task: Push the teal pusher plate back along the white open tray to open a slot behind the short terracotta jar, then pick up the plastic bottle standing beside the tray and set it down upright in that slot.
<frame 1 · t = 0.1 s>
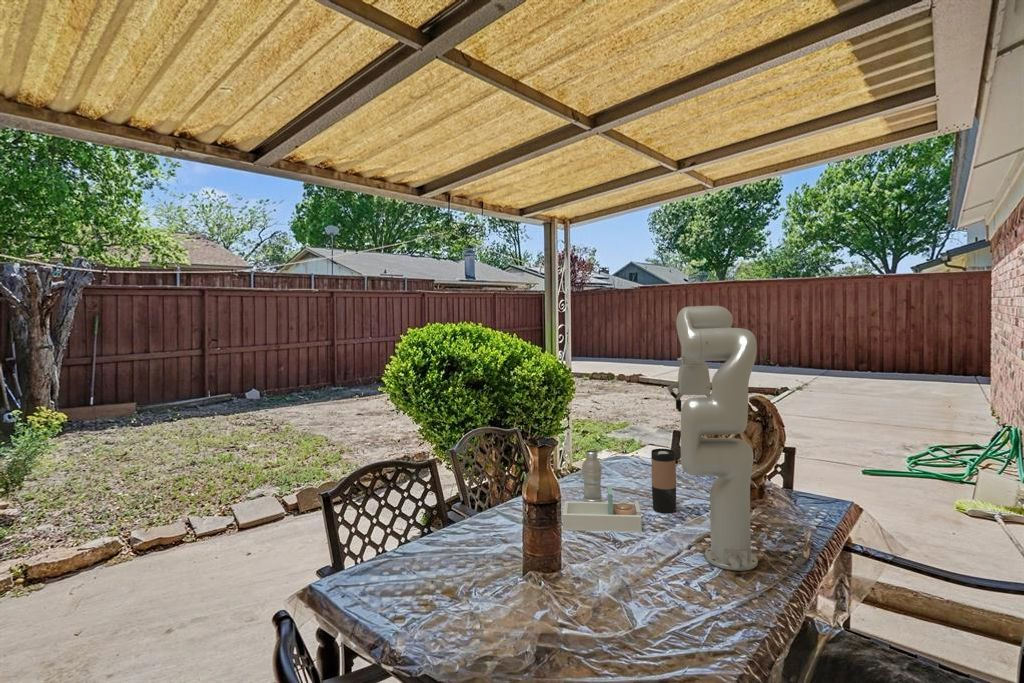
hand: (694, 411, 178), 31 cm above the table, tool pointing down, fingers open, 9 cm apart
pusher: (610, 506, 160), point 6 cm above the table, slide at 0.0 cm
terracotta jar: (624, 523, 160), point 1 cm above the table, touching white open tray
plastic bottle: (593, 512, 173), on the table
travel mug: (664, 512, 170), on the table
white open tray: (601, 525, 161), on the table
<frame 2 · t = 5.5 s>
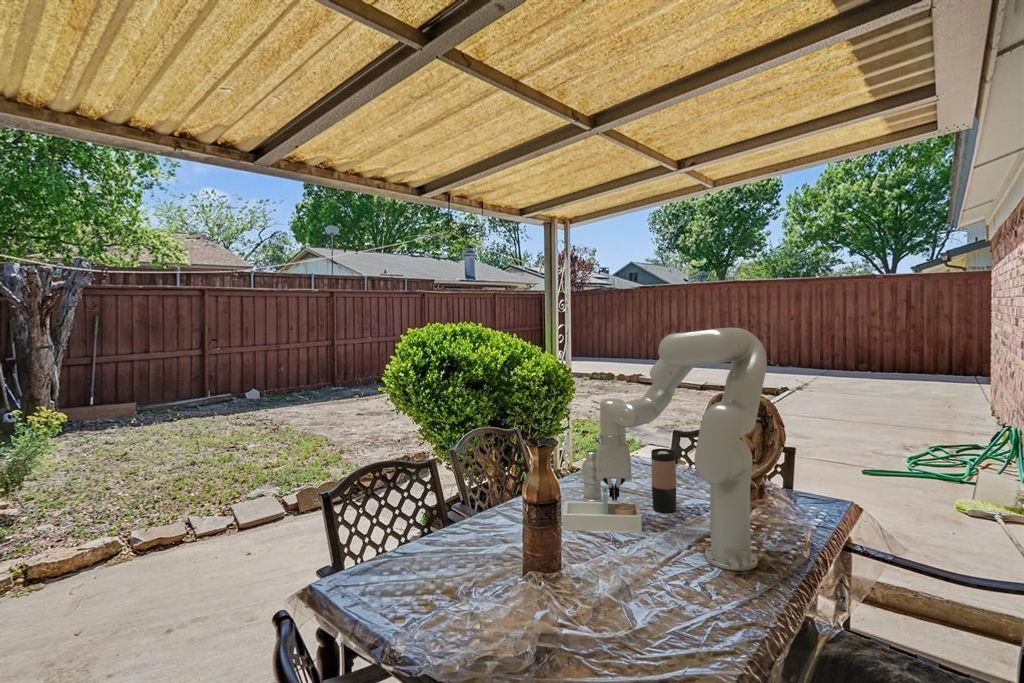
hand: (614, 499, 160), 8 cm above the table, tool pointing down, fingers closed
pusher: (605, 505, 160), point 6 cm above the table, slide at 1.5 cm, touching gripper
everything else where it was.
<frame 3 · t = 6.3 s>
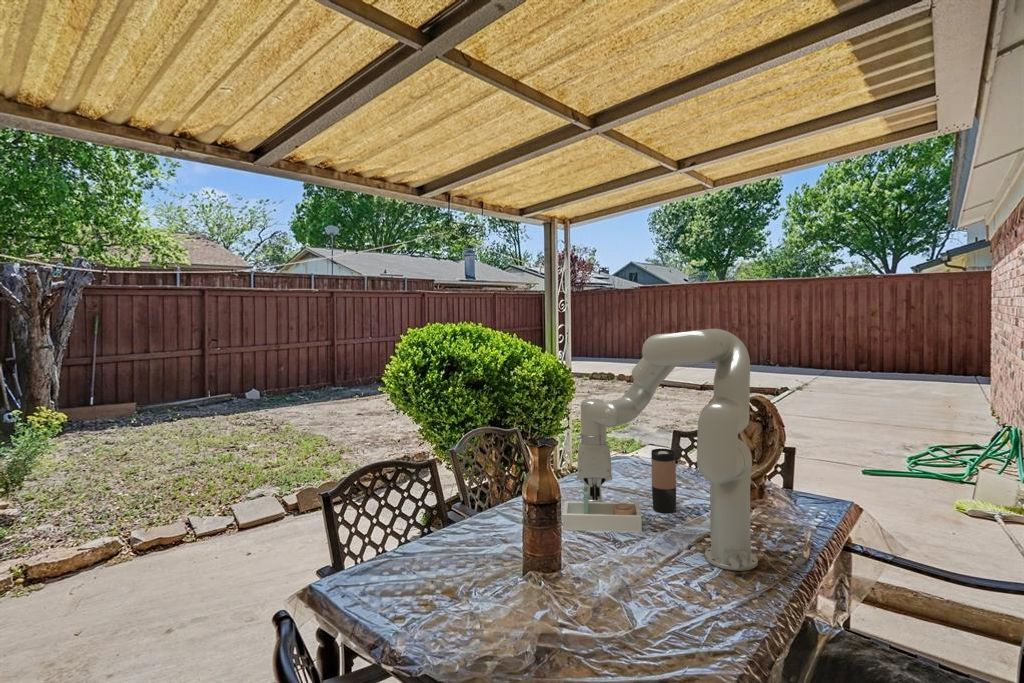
hand: (595, 498, 161), 8 cm above the table, tool pointing down, fingers closed
pusher: (586, 505, 161), point 6 cm above the table, slide at 7.4 cm, touching gripper
everything else where it was.
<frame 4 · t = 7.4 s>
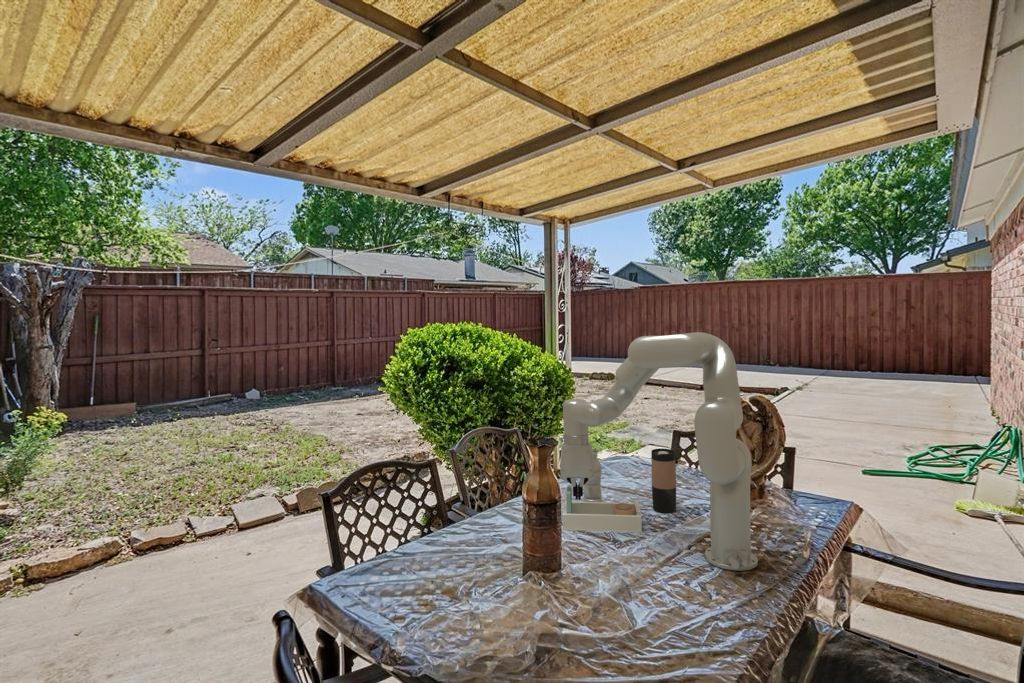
hand: (578, 498, 161), 8 cm above the table, tool pointing down, fingers closed
pusher: (569, 505, 162), point 6 cm above the table, slide at 12.5 cm, touching gripper, white open tray
everything else where it was.
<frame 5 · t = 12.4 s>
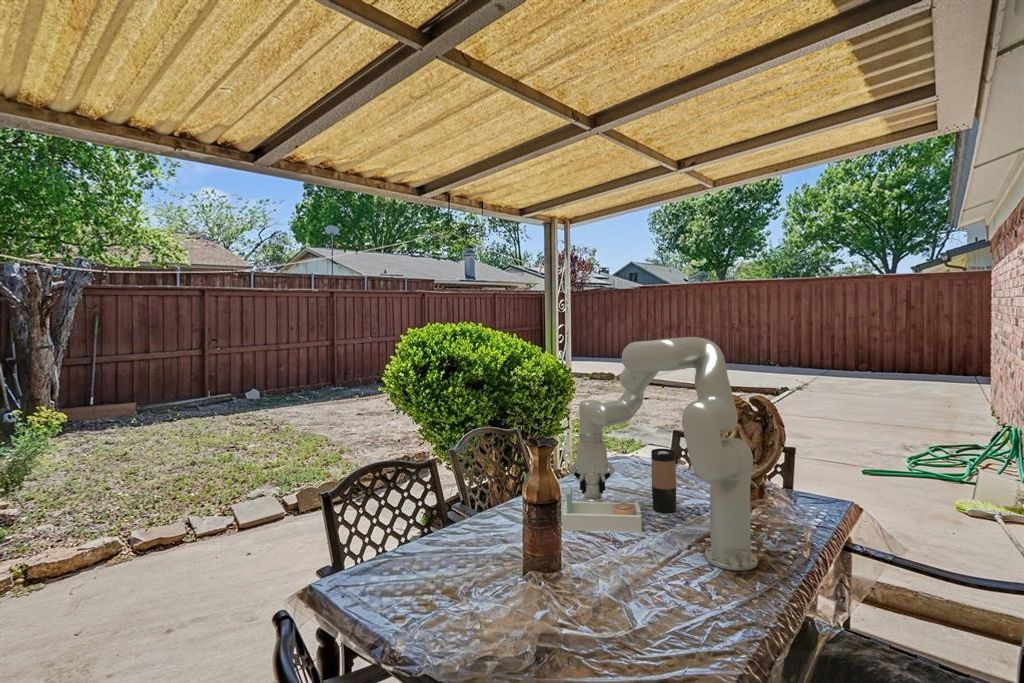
hand: (592, 491, 173), 7 cm above the table, tool pointing down, fingers closed on plastic bottle, 5 cm apart
pusher: (569, 505, 162), point 6 cm above the table, slide at 12.4 cm
plastic bottle: (593, 511, 173), on the table, touching gripper
everything else where it was.
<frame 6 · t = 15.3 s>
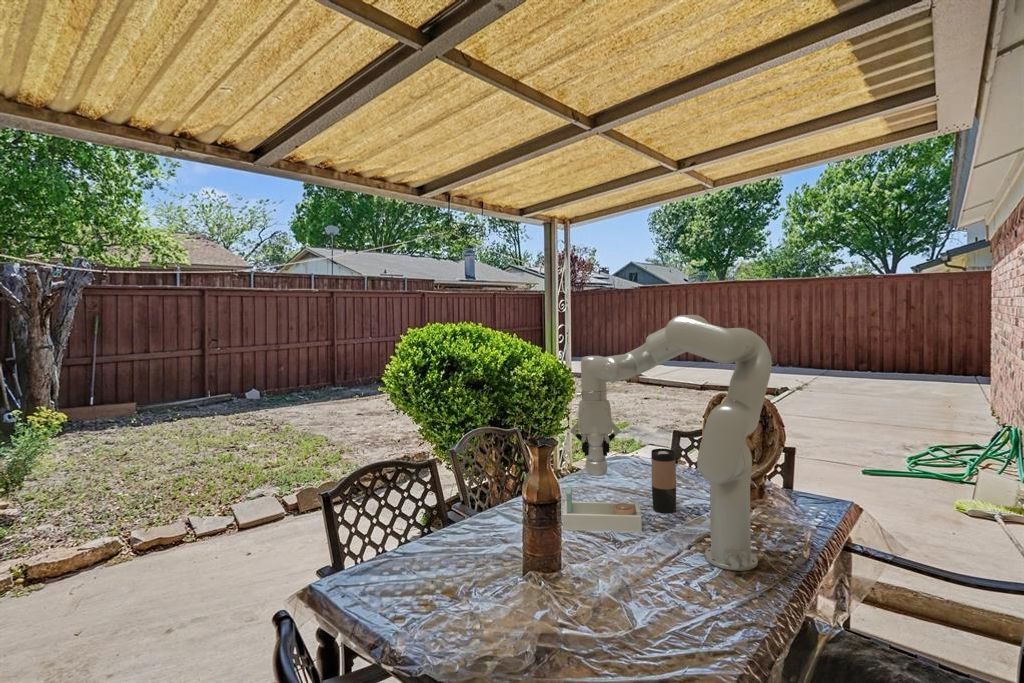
hand: (595, 454, 160), 22 cm above the table, tool pointing down, fingers closed on plastic bottle, 5 cm apart
plastic bottle: (596, 476, 160), point 15 cm above the table, touching gripper
everything else where it was.
when the fingers open (8 cm above the table, at t = 18.2 s): plastic bottle stays where it is, resting on white open tray.
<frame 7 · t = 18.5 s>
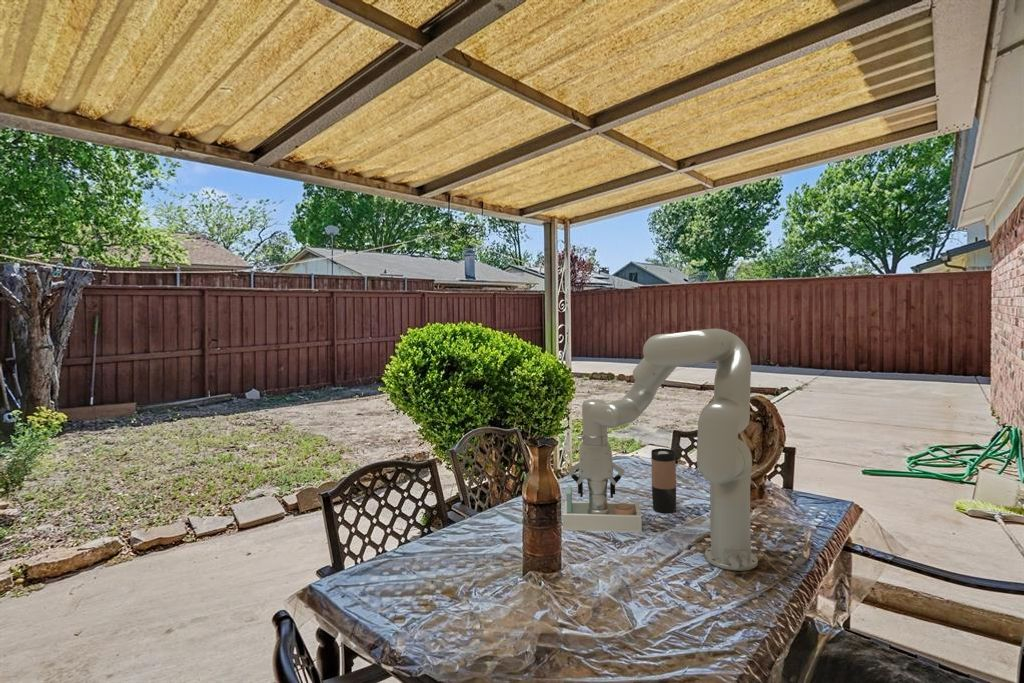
hand: (596, 496, 161), 9 cm above the table, tool pointing down, fingers open, 8 cm apart
plastic bottle: (598, 523, 161), point 1 cm above the table, touching white open tray
everything else where it was.
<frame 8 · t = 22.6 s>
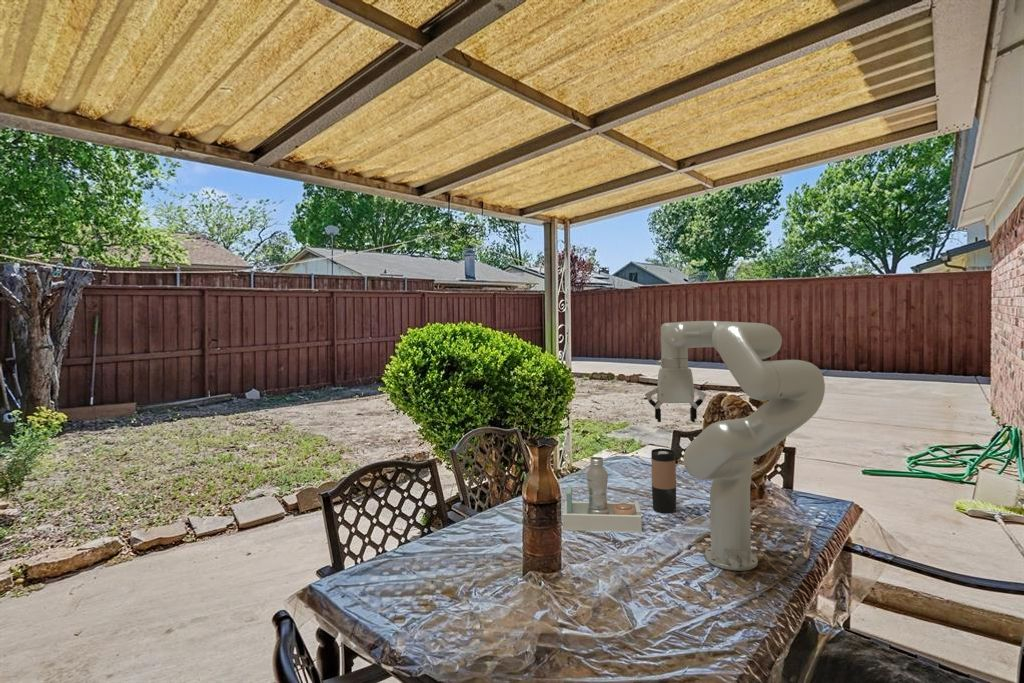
hand: (675, 421, 155), 32 cm above the table, tool pointing down, fingers open, 9 cm apart
nothing on the table moved.
at the end: plastic bottle inside the target area on the white open tray (1.4 cm from its centre), point 0.6 cm above the white open tray's base; plastic bottle tilted 0°; pusher slide at 12.4 cm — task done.
